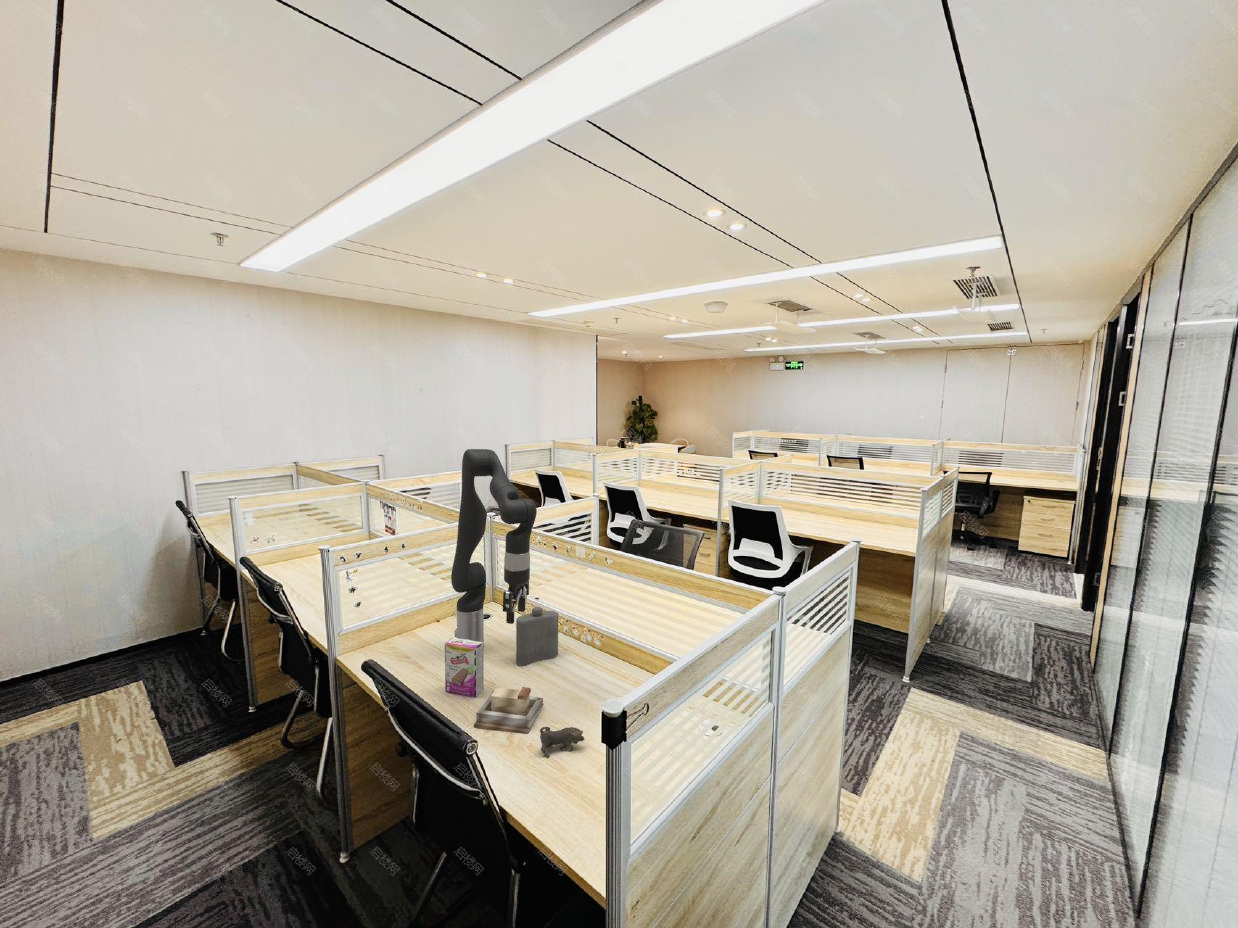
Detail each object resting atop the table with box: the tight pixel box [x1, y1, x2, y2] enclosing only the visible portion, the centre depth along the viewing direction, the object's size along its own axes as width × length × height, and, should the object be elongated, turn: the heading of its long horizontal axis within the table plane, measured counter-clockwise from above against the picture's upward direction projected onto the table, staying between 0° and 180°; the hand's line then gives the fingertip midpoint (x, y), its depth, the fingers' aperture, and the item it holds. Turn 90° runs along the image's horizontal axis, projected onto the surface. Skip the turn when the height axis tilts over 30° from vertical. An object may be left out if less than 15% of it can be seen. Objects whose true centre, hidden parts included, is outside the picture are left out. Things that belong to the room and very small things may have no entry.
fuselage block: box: [491, 686, 532, 716], centre depth 148 cm, size 10×4×7 cm, turn 81°
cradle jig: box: [473, 691, 544, 735], centre depth 148 cm, size 16×14×4 cm
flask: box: [515, 606, 559, 667], centre depth 178 cm, size 15×6×20 cm, turn 117°
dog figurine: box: [539, 726, 585, 759], centre depth 134 cm, size 12×6×7 cm, turn 102°
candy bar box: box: [444, 636, 485, 698], centre depth 159 cm, size 11×5×16 cm, turn 74°
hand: (516, 617), depth 153 cm, fingers open, 8 cm apart
